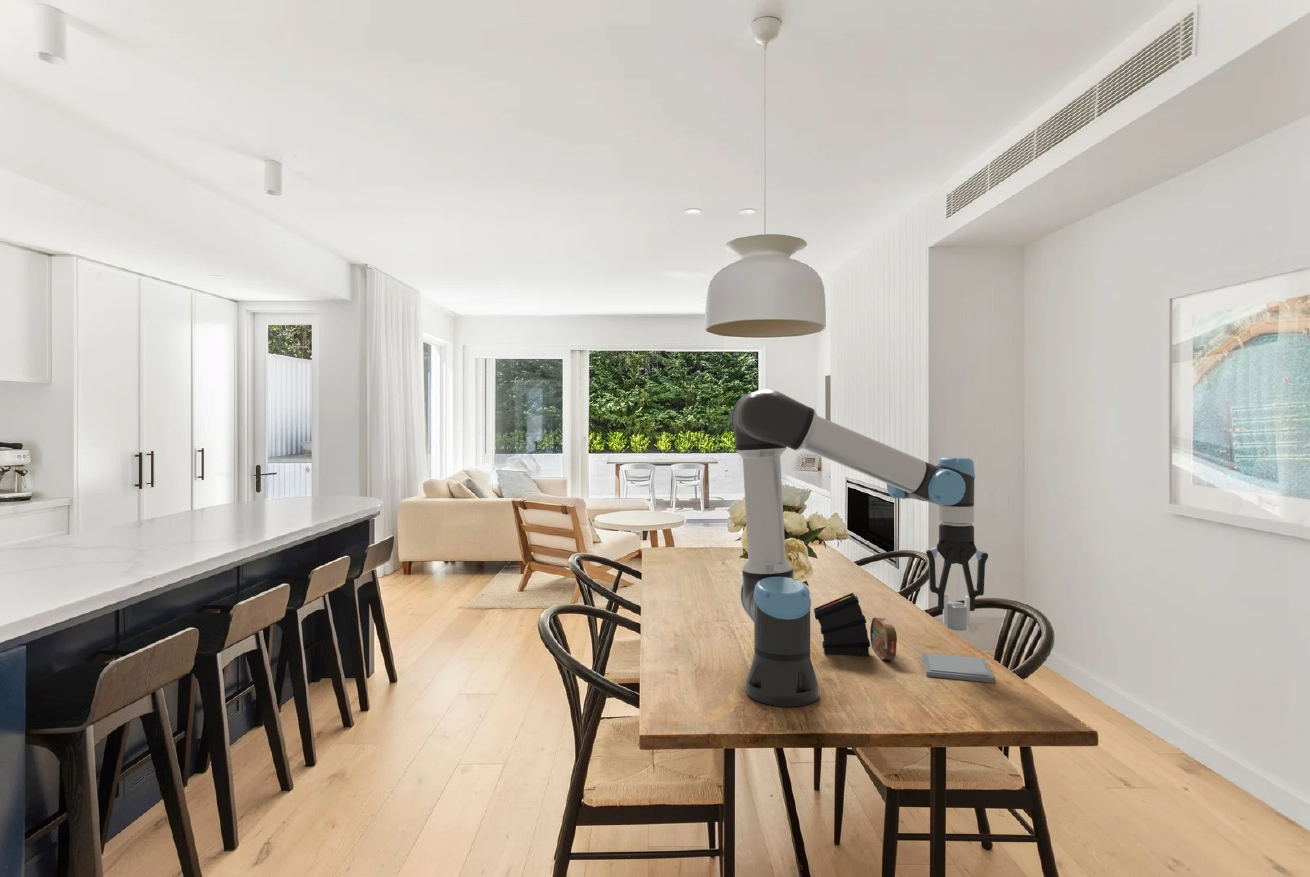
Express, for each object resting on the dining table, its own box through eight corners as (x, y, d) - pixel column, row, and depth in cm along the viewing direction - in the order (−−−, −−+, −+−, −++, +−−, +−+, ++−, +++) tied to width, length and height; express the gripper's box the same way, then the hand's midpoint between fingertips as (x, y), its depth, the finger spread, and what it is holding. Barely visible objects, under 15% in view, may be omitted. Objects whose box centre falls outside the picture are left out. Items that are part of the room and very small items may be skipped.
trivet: (926, 676, 155) (926, 670, 155) (921, 656, 168) (921, 651, 168) (994, 682, 150) (994, 677, 150) (984, 662, 164) (984, 657, 164)
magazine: (883, 651, 167) (855, 595, 168) (832, 671, 169) (806, 615, 171) (881, 646, 171) (854, 591, 172) (832, 666, 173) (806, 611, 174)
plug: (948, 629, 156) (948, 608, 156) (944, 619, 165) (944, 598, 165) (967, 631, 155) (967, 609, 155) (962, 620, 164) (962, 599, 164)
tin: (869, 645, 177) (869, 613, 177) (881, 645, 177) (881, 613, 177) (885, 665, 162) (885, 629, 162) (898, 665, 162) (898, 629, 162)
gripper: (994, 522, 160) (993, 622, 160) (916, 520, 165) (915, 616, 165) (999, 527, 153) (999, 631, 153) (918, 524, 158) (918, 625, 158)
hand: (956, 623), depth 159 cm, fingers closed on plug, 4 cm apart
